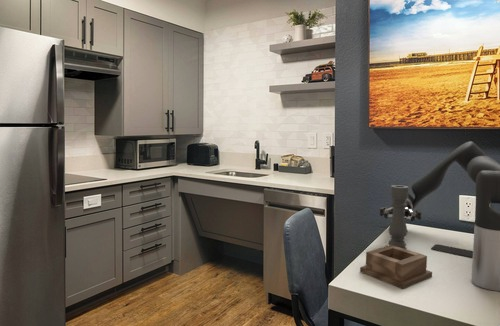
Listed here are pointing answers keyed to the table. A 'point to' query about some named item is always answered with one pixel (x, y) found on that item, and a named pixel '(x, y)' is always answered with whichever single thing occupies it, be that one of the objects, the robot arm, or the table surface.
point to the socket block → (396, 266)
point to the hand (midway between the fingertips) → (399, 217)
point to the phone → (453, 250)
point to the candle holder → (398, 216)
